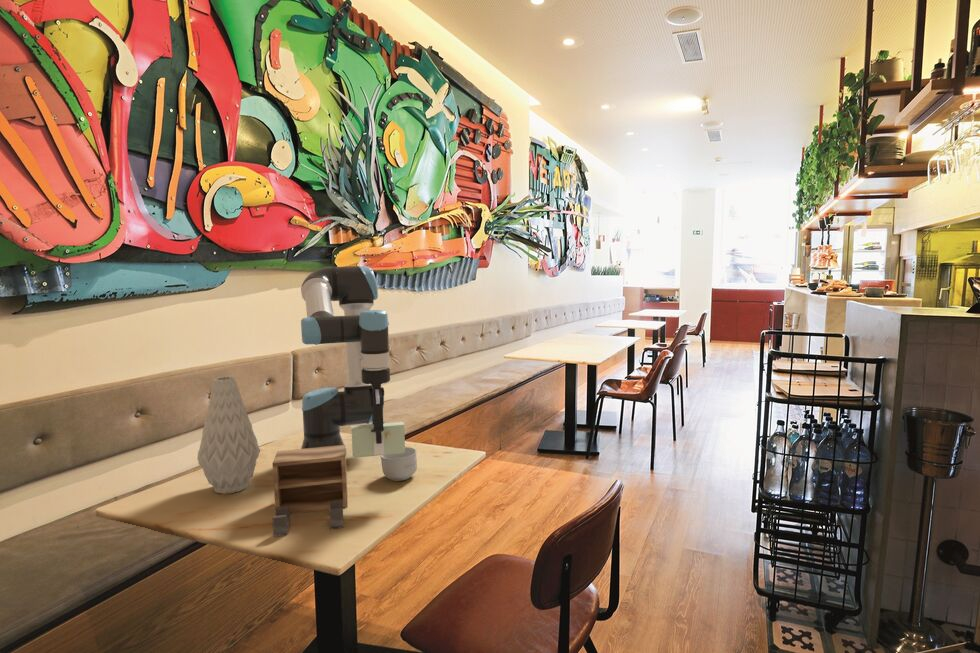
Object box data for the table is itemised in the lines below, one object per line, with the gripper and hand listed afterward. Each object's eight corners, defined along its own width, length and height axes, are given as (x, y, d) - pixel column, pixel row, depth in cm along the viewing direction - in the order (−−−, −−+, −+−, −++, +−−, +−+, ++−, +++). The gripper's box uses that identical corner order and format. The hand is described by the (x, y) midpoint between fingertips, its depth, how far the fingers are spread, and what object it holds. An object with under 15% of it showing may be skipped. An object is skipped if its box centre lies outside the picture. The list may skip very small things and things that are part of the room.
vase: (191, 489, 163) (182, 379, 160) (248, 473, 175) (241, 370, 171) (211, 505, 151) (202, 386, 148) (271, 487, 163) (264, 377, 160)
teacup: (410, 485, 162) (409, 458, 162) (375, 483, 165) (374, 456, 164) (425, 468, 176) (424, 443, 175) (393, 466, 178) (392, 442, 177)
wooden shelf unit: (280, 500, 153) (277, 451, 152) (347, 492, 158) (345, 444, 156) (269, 537, 132) (265, 480, 130) (347, 527, 136) (344, 471, 135)
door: (352, 454, 152) (351, 425, 151) (404, 449, 155) (403, 421, 155) (352, 459, 148) (351, 430, 147) (405, 454, 152) (404, 425, 151)
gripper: (360, 363, 156) (364, 443, 159) (362, 374, 141) (365, 463, 144) (387, 361, 158) (390, 441, 161) (391, 372, 143) (395, 460, 145)
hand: (378, 451), depth 152 cm, fingers closed on door, 3 cm apart
